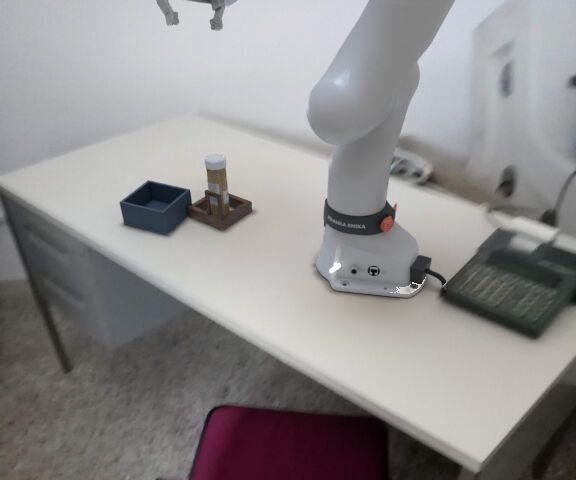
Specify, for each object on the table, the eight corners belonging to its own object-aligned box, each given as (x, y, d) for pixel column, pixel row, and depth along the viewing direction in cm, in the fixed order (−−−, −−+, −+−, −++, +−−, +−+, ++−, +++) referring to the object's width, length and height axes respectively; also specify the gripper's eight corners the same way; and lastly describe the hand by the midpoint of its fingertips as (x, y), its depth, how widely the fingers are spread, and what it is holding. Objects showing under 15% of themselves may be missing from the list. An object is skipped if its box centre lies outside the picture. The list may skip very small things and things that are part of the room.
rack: (252, 211, 137) (250, 178, 131) (223, 231, 131) (219, 197, 126) (218, 198, 141) (215, 166, 136) (188, 216, 136) (183, 183, 130)
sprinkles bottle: (234, 215, 136) (229, 158, 126) (216, 221, 134) (210, 163, 125) (224, 207, 139) (219, 150, 129) (207, 212, 137) (200, 155, 127)
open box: (193, 211, 137) (190, 189, 133) (166, 235, 130) (162, 212, 126) (152, 202, 141) (148, 179, 137) (124, 224, 133) (119, 202, 129)
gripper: (135, -85, 93) (153, 15, 96) (237, -61, 105) (250, 26, 109) (116, -66, 97) (135, 28, 101) (217, -46, 110) (230, 37, 114)
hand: (195, 27), depth 105 cm, fingers open, 8 cm apart
